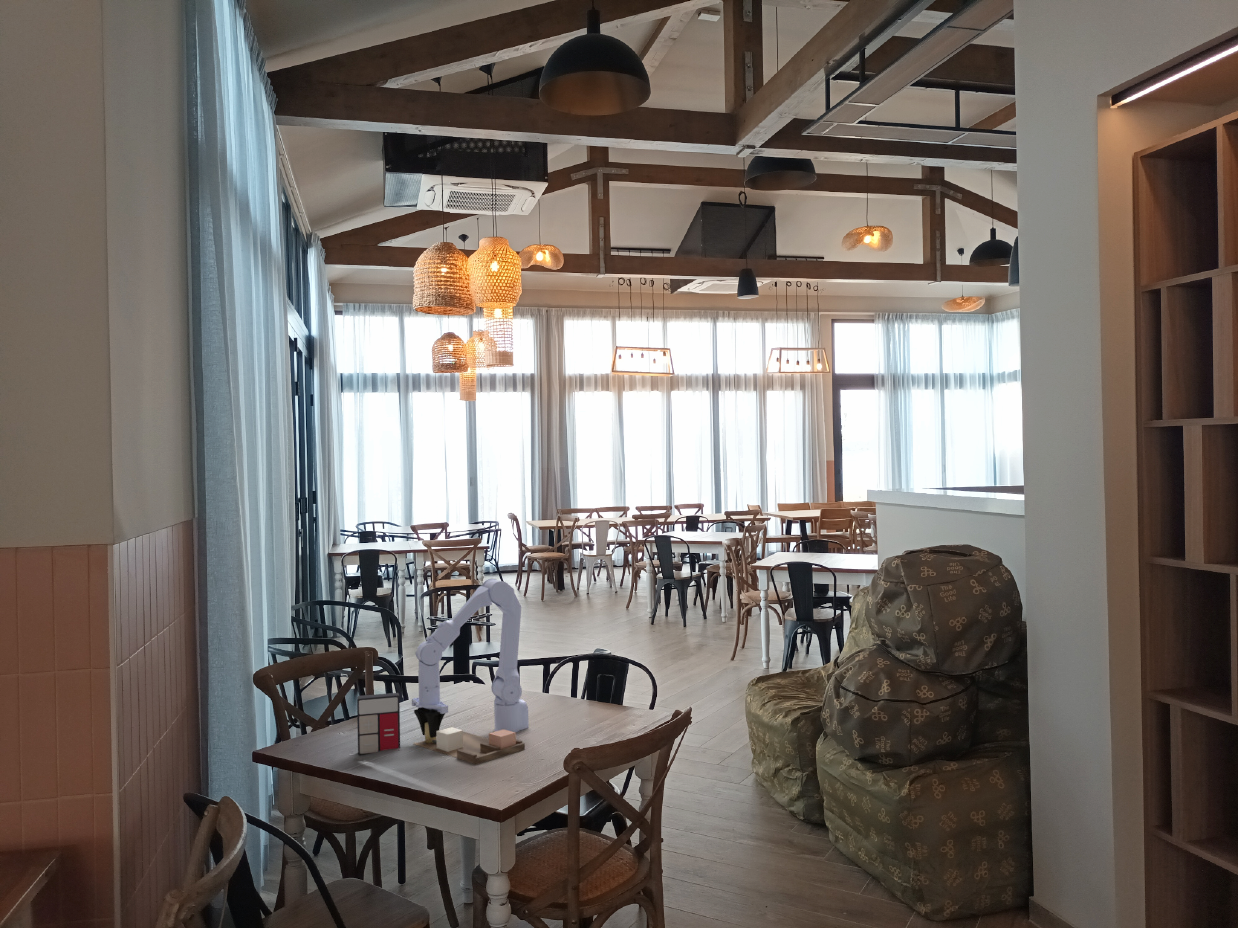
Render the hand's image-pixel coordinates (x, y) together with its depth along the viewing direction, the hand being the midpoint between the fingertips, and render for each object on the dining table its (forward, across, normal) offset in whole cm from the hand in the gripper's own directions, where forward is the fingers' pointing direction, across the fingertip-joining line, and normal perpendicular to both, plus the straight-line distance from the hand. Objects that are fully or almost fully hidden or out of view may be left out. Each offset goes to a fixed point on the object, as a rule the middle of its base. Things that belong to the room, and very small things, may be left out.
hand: (430, 735), depth 241 cm
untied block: (+2, +22, +8) cm, 23 cm away
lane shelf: (+3, +12, +4) cm, 13 cm away
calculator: (+3, -6, -12) cm, 14 cm away
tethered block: (+2, +5, 0) cm, 5 cm away
